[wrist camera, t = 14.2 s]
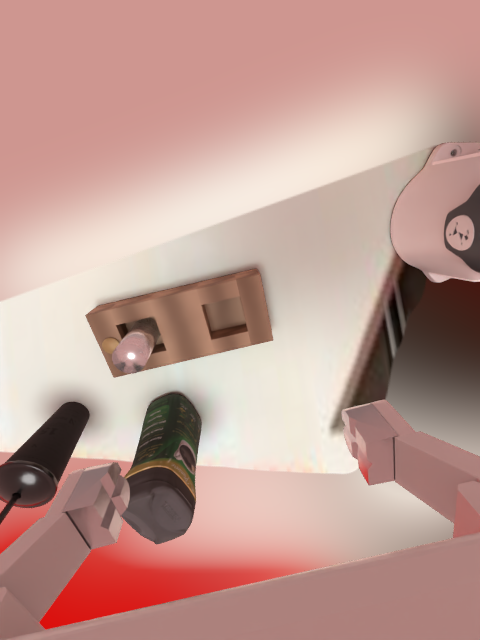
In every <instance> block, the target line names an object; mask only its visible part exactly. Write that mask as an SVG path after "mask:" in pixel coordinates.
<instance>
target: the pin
mask: <svg viewBox="0 0 480 640" xmlns="http://www.w3.org/2000/svg"><path fill="white" fill-rule="evenodd" d="M160 335H161V334H160V331H159V328H158V325H157V323H156V321H155V320H154V319H152V318H145V319H140V320H138V321H137V322H136V323H135V324H134V326H133V327H132V328H131V329H130V331H129V332H128V333H127V334H126V336H125V337H124V338H123V339H122V341H121V342H120V343H119V345H118V346H117V347H116V348H115V350H114V351H113V353H112V361H113V363H114V365H115V366H116V368H117V369H119V370H120V371H122V372H125V373H137V372H139V371H141V370H142V369H143V368H144V366H145V364H146V362H147V361H148V359H149V357H150V355H151V353H152V351H153V349H154V347H155V345H156V343H157V341H158V339H159V337H160Z"/></svg>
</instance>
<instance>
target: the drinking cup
mask: <svg viewBox="0 0 480 640" xmlns="http://www.w3.org/2000/svg"><path fill="white" fill-rule="evenodd" d="M88 419H89V412H88V410H87V408H86V407H85V406H83V405H82V404H80V403H76V402H68V403H65V404H64V405H62V406H61V407H60V408H59V409H58V410H57V411H56V412H55V413H54V414H53V415H52V416H51V417H50V418H49V419H48V420H47V421H46V422H45V423H44V424H43V425H42V426H41V427H40V428H39V429H38V430H37V431H36V432H35V433H34V434H33V435H32V436H31V437H30V438H29V439H28V440H27V441H26V442H25V443H24V444H23V445H22V446H21V447H20V448H19V449H18V450H17V451H16V452H15V453H14V455H12V456H11V457H10V458H9V459H8V460H7V462H5V463H4V464H2V465H0V500H2V501H3V502H5V503H7V505H6V506H5V508H4V509H3V511H2V512H1V513H0V524H1V523H2V521H3V520H4V518H5V517H6V515H7V514H8V513H9V511H10V509H11V508H12V507H13V506H16V507H22V508H34V507H39V506H42V505H44V504H46V503H48V502H49V501H51V500H52V498H53V497H54V496H55V494H56V492H57V487H58V482H59V481H60V478H61V476H62V474H63V472H64V470H65V468H66V466H67V464H68V461H69V459H70V457H71V455H72V453H73V451H74V449H75V447H76V444H77V442H78V440H79V438H80V436H81V434H82V432H83V429H84V427H85V425H86V423H87V421H88Z"/></svg>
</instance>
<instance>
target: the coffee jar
mask: <svg viewBox="0 0 480 640" xmlns="http://www.w3.org/2000/svg"><path fill="white" fill-rule="evenodd" d="M200 434H201V420H200V418H199V416H198V414H197V412H196V410H195V409H194V407H193V406H192V405H191V403H190V402H189V401H188V400H187V399H186V398H185V397H183V396H182V395H178V394H170V395H166V396H164V397H161V398H159V399H157V400H155V401H154V402H152V403H151V404H150V405H149V407H148V409H147V412H146V415H145V419H144V423H143V427H142V432H141V436H140V440H139V444H138V447H137V451H136V455H135V458H134V461H133V465H132V467H131V469H130V470H129V472H128V473H127V474H126V475H125V477H124V478H126V480H127V482H128V484H129V488H130V500H129V503H128V507H127V509H126V510H125V511H124V512H123V514H122V515H121V516H122V517H123V519H125V521H126V522H127V523H128V524H129V525H130V526H131V527H132V528H133V529H135V530H136V531H137V532H138V533H139V534H140V535H141V536H143V537H145V538H147V539H149V540H151V541H153V542H154V543H155V544H160V543H163V542H167V541H169V540H172V539H175V538H177V537H179V536H181V535H183V534H185V532H186V531H187V529H188V528H189V526H190V524H191V523H192V519H193V515H194V509H195V503H196V493H195V470H196V462H197V454H198V446H199V440H200Z"/></svg>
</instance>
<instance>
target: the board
mask: <svg viewBox="0 0 480 640" xmlns="http://www.w3.org/2000/svg"><path fill="white" fill-rule="evenodd" d="M85 316H86V318H87V320H88V322H89V324H90V327H91V329H92V331H93V333H94V335H95V338H96V340H97V342H98V344H99V346H100V348H101V351H102V353H103V355H104V357H105V359H106V362H107V364H108V366H109V368H110V370H111V373H112V375H113V377H118V376H123V375H127V374H131V373H125V372H122V371H120V370H119V369H117V368H116V366H115V365H114V363H113V361H112V353H113V351H114V350H115V348H116V347H117V346H118V345H119V343H120V342H121V341H122V339H123V338H124V337H125V336H126V334H127V333H128V332H129V331H130V329H131V328H132V327H133V326H134V324H135V323H136V322H137V321H138V320H140V319H145V318H152V319H154V320H155V321H156V323H157V325H158V328H159V331H160V334H161V335H160V337H159V339H158V341H157V343H156V345H155V347H154V349H153V351H152V353H151V355H150V357H149V359H148V361H147V362H146V364H145V366H144V368H143V369H142V370H141V371H144V370H148V369H153V368H157V367H161V366H166V365H170V364H174V363H178V362H183V361H187V360H191V359H195V358H200V357H204V356H208V355H213V354H217V353H221V352H225V351H230V350H234V349H238V348H243V347H247V346H251V345H255V344H260V343H264V342H268V341H272V340H273V336H272V331H271V326H270V321H269V316H268V311H267V306H266V301H265V296H264V291H263V285H262V280H261V275H260V273H259V272H258V270H257V269H252V270H248V271H244V272H239V273H235V274H231V275H227V276H222V277H218V278H214V279H210V280H206V281H201V282H197V283H193V284H189V285H184V286H180V287H176V288H172V289H168V290H163V291H159V292H155V293H151V294H146V295H142V296H138V297H134V298H130V299H125V300H121V301H117V302H113V303H108V304H104V305H100V306H97V307H96V308H94V309H93V310H92V311H90V312H89V313H88V314H87V315H85ZM139 372H140V371H139Z"/></svg>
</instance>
